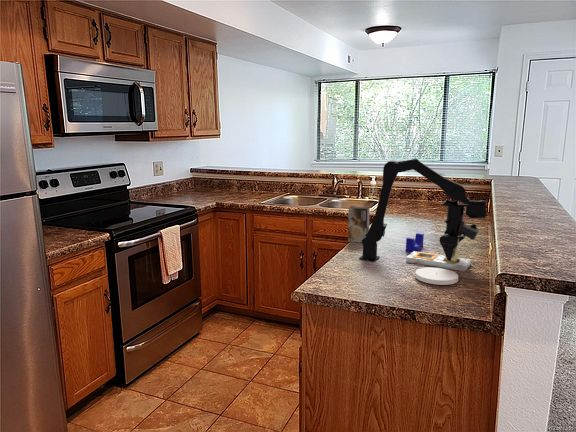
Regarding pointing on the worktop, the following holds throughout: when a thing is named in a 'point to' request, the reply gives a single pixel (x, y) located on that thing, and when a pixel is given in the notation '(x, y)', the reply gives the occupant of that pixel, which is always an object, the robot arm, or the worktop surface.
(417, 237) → the blue curved block
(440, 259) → the grey plate with holes
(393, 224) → the worktop surface
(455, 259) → the beige rectangular block
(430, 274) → the plastic lid
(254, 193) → the worktop surface
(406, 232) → the worktop surface
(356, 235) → the coffee box
